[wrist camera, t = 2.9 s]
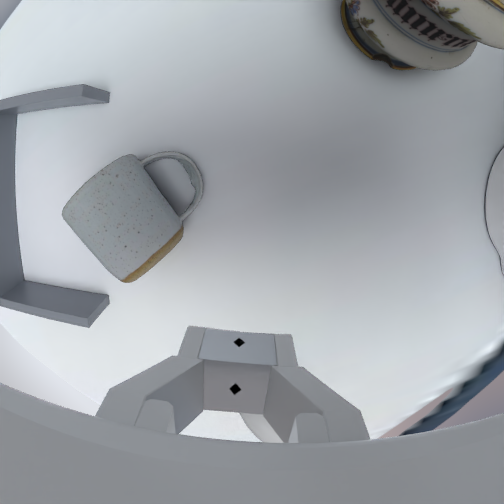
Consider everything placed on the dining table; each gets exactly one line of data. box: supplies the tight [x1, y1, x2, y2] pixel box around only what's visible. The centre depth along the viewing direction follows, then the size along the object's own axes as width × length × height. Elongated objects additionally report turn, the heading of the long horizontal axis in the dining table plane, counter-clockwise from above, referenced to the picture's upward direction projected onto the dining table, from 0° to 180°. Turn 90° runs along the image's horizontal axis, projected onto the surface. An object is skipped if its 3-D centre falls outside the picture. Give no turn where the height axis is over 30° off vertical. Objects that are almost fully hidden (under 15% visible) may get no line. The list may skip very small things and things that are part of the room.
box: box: [0, 84, 110, 328], centre depth 25 cm, size 13×21×5 cm, turn 175°
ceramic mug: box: [62, 152, 203, 283], centre depth 24 cm, size 11×8×8 cm
